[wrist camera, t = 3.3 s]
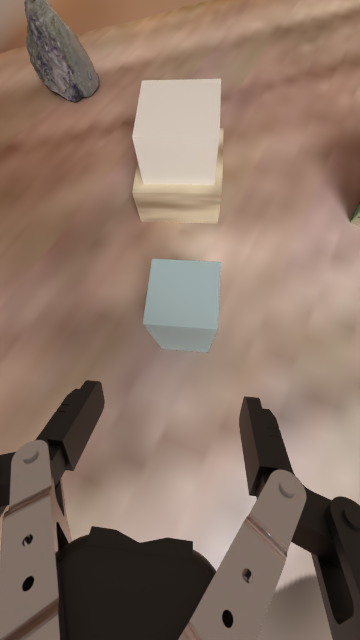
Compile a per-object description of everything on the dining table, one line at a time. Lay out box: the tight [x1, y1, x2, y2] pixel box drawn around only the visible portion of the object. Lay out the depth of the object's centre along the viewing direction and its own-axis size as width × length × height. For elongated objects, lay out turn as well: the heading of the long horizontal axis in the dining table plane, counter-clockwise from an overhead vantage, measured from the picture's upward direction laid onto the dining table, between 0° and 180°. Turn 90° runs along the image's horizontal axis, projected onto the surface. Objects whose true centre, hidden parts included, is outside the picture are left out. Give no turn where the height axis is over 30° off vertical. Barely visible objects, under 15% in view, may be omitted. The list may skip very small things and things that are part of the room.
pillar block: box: [143, 259, 221, 353], centre depth 20 cm, size 5×5×10 cm
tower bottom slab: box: [132, 129, 223, 223], centre depth 29 cm, size 10×10×5 cm
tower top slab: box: [132, 79, 221, 185], centre depth 24 cm, size 8×8×5 cm
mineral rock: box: [25, 0, 99, 102], centre depth 34 cm, size 13×11×10 cm
